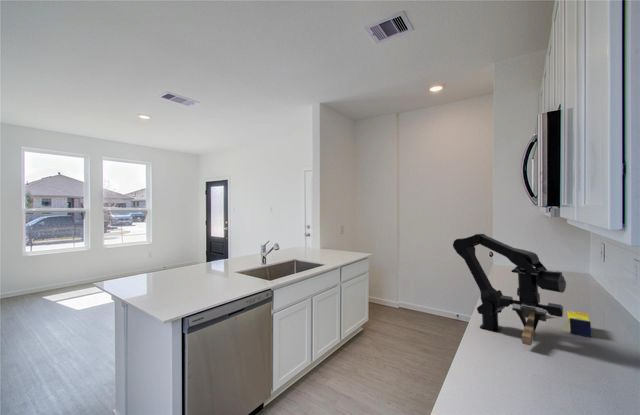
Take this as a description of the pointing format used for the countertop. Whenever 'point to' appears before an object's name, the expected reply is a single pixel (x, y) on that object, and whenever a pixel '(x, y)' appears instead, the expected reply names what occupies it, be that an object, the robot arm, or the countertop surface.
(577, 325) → the supplement box
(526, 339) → the bar
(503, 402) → the countertop surface
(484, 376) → the countertop surface
